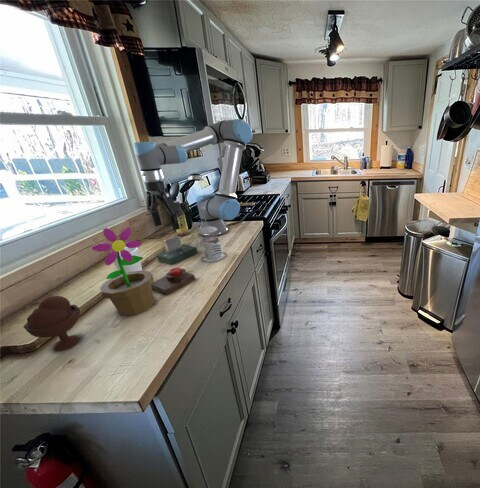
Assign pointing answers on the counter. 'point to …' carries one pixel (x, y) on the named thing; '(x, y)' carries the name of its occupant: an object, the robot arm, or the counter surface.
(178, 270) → the red button
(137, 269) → the foam cup
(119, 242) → the flowerpot
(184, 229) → the sauce bottle
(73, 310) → the ice cream bowl
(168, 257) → the panel
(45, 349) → the counter surface
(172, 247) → the gray upright block
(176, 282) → the button block
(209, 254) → the french press
